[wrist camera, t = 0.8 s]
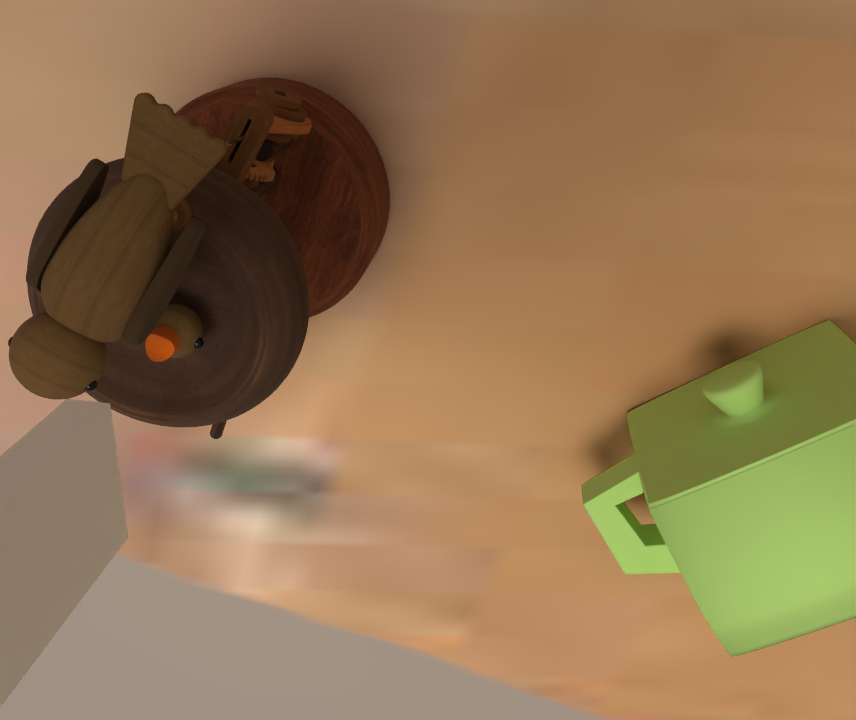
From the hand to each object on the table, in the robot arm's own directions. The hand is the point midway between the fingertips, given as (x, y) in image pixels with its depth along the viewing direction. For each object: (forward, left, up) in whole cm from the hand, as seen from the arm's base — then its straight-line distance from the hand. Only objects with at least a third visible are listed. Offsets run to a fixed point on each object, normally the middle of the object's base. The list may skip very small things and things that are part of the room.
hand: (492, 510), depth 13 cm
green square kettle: (+11, +13, -26) cm, 31 cm away
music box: (+2, -11, -26) cm, 28 cm away
